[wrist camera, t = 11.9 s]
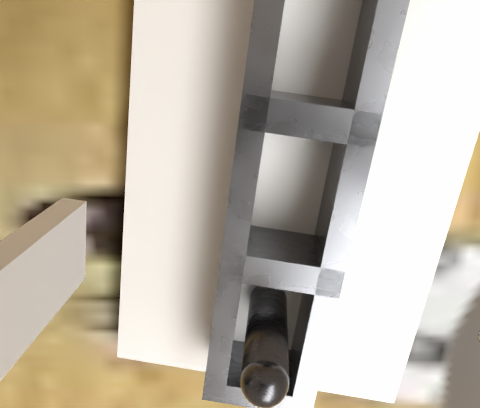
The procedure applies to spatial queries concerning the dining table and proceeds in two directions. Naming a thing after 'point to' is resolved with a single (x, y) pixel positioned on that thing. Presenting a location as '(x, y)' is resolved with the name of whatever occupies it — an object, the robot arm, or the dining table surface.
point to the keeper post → (266, 348)
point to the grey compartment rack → (332, 204)
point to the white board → (290, 175)
